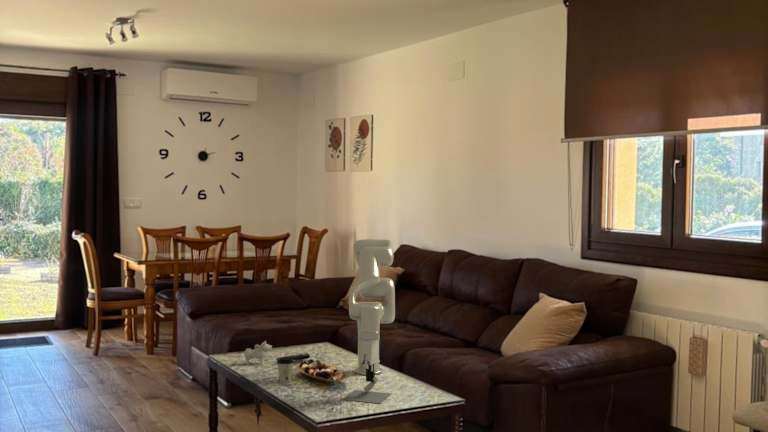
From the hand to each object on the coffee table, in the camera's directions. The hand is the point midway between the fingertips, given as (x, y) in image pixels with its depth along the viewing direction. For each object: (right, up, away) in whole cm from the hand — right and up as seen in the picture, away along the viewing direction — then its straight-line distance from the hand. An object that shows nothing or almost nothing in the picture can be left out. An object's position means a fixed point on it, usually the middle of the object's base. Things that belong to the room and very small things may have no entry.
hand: (370, 380), depth 307 cm
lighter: (+1, -3, +5) cm, 5 cm away
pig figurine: (-54, -3, +51) cm, 74 cm away
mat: (-1, -6, -2) cm, 6 cm away
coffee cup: (-37, -5, +21) cm, 42 cm away
